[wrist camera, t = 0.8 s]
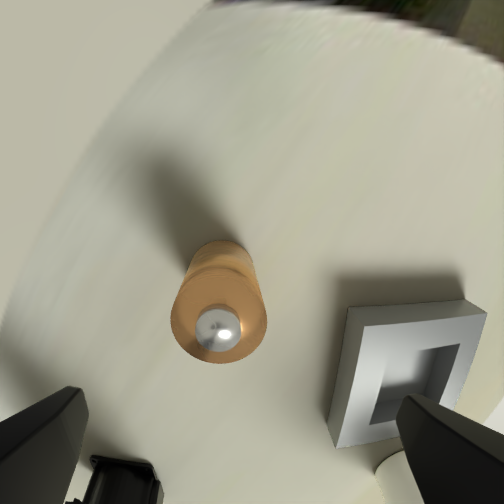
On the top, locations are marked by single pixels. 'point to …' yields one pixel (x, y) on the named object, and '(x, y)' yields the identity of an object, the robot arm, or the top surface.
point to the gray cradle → (400, 364)
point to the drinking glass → (397, 481)
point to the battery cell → (219, 305)
